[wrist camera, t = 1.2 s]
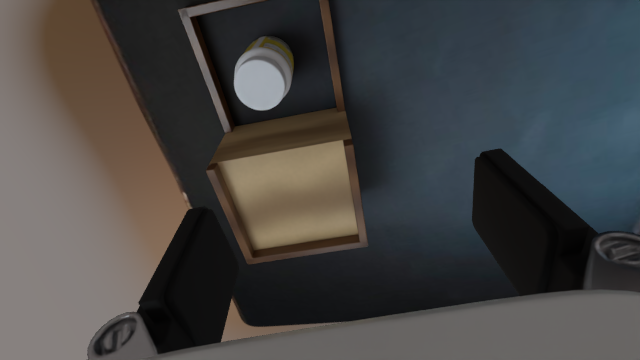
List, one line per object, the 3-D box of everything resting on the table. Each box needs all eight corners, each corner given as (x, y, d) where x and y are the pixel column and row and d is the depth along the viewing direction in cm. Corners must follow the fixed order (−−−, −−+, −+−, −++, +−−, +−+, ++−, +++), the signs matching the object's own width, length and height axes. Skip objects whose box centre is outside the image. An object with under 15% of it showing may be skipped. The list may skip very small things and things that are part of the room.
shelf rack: (183, 7, 29) (137, 20, 21) (324, -24, 28) (328, -23, 20) (259, 210, 42) (247, 264, 34) (357, 194, 41) (368, 246, 33)
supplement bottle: (253, 88, 33) (238, 119, 26) (240, 40, 31) (218, 60, 24) (299, 80, 33) (295, 109, 26) (288, 30, 30) (281, 48, 23)
